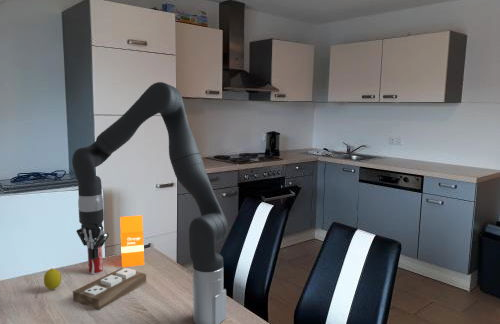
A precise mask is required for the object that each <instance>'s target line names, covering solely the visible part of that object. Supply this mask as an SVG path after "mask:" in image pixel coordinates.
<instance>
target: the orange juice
mask: <svg viewBox="0 0 500 324" xmlns="http://www.w3.org/2000/svg"><path fill="white" fill-rule="evenodd" d="M119 221H120V244H121V245H120V248H121V249H120V251H121V252H120V253H121V268H129V267H136V266H144V265H145V253H144V252H145V247H144V246H145V245H144V225H143V215H130V216H120V220H119Z"/></svg>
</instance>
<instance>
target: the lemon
mask: <svg viewBox="0 0 500 324" xmlns="http://www.w3.org/2000/svg"><path fill="white" fill-rule="evenodd" d="M61 282H62V274H61V273H60V271H59V270H58V269H56V268H50V269H49V270H47V271H45V274H44V276H43V284H44V286H45V288H47V290H52V291H55V289H58V287H60V285H61Z"/></svg>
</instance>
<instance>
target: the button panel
mask: <svg viewBox="0 0 500 324" xmlns="http://www.w3.org/2000/svg"><path fill="white" fill-rule="evenodd" d="M124 268H125V267H120V268H118V269H116V270H115V271H112V272H110V273H109V274H106V275H104V276H101V277H100V278H98V279H96V280H94V281H92V282H90V283H89V282H88V283H87V284H85V285H83V286H81V287H79V288H77V289H75V290H73V291H72V295H73V302H75V303H78V304H81V305H84V306H86V307H90V308H92V309H95V310H98V311H100V310H101V309H103V308H105V307H107V306H108V305H111V304H112V303H114V302H115V301H117V300H119V299H121V298H123V297H125V296H127V295H128V294H129V293H131V292H134V291H135V290H136V289H138V288H140V287H142V286H144V285H145V284H147V273H143V272H139V271H136V274H135V275H133V276H131V277H130V278H128V279H123V278H122V282H120V283H118V284H116V285H114V286H112V287H109V286H105V285H102V284H101V281H100V280H101V279H104V278H106V277H108V276H110V275H115V276H116V272H118V271H120V270H122V269H124ZM95 285H97V286H100V287H103V288H107V290H105V291H103V292H101V293H99V294H97V295H95V296H94V295H91V294H87V293H84V291H85V290H87V289H89V288H91V287H93V286H95Z"/></svg>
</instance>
